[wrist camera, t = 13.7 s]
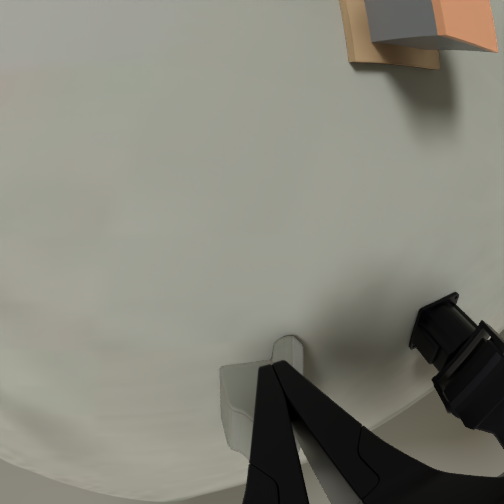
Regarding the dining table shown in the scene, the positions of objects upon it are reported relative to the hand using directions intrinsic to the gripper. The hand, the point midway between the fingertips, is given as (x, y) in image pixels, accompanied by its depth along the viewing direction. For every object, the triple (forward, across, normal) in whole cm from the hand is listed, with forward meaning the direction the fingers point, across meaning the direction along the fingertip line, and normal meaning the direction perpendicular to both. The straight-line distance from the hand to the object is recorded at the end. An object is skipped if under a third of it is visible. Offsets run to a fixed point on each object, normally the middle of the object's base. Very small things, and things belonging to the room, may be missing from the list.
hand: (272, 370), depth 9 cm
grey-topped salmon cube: (+11, -14, -13) cm, 22 cm away
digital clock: (+12, 0, +19) cm, 22 cm away
